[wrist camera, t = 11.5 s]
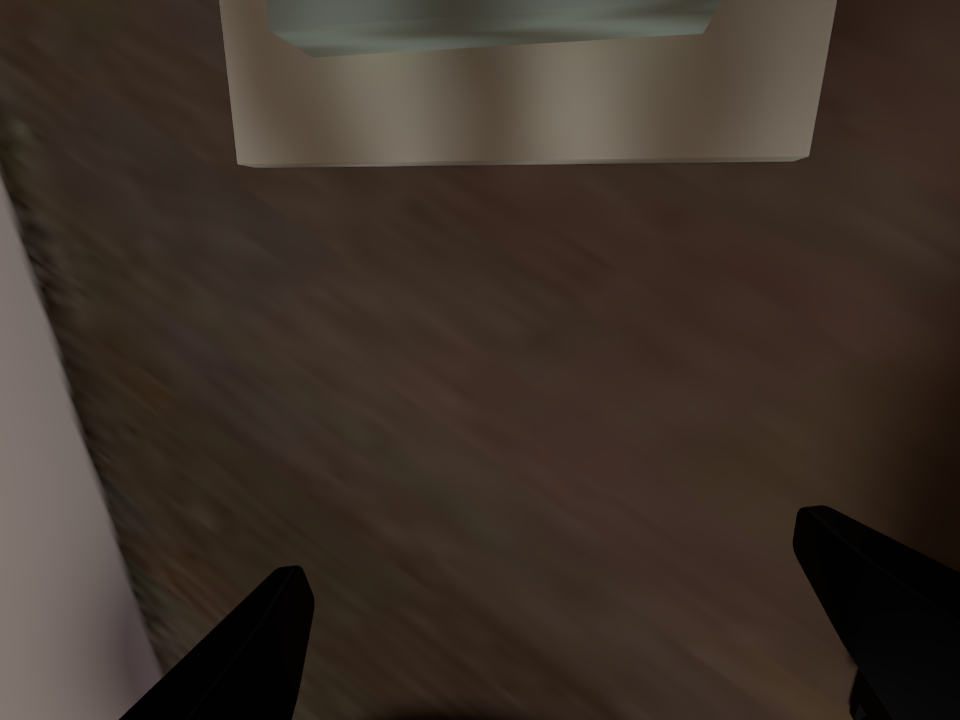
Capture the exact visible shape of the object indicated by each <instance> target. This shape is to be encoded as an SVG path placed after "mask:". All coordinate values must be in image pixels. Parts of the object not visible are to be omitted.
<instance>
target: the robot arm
mask: <svg viewBox="0 0 960 720" xmlns="http://www.w3.org/2000/svg"><path fill="white" fill-rule="evenodd" d="M793 549H794V553H795V555H796V557H797V559H798V561H799V563H800V565H801V567H802V569H803V571H804V573H805V574H806V576H807V578H808V580H809V582H810V584H811V586H812V587H813V589H814V591H815V593H816V595H817V597H818V599H819V601H820V602H821V604H822V606H823V608H824V610H825V612H826V614H827V615H828V617H829V619H830V621H831V623H832V625H833V627H834V628H835V630H836V632H837V634H838V636H839V637H840V639H841V641H842V643H843V644H844V646H845V647H846V649H847V651H848V652H849V654H850V655H851V657H852V658H853V660H854V662H855V663H856V665H857V666H858V668H859V670H858V674H857V677H856V681H855V685H854V688H853V693H854V696H853V700H852V703H851V707H850V715H851V716H852V718H853V720H960V573H959V572H957V571H955V570H953V569H951V568H949V567H947V566H945V565H943V564H941V563H939V562H937V561H935V560H933V559H931V558H929V557H927V556H925V555H924V554H922V553H920V552H918V551H916V550H914V549H912V548H910V547H908V546H906V545H904V544H902V543H900V542H898V541H896V540H894V539H892V538H890V537H888V536H886V535H884V534H882V533H880V532H878V531H876V530H874V529H872V528H870V527H868V526H866V525H864V524H862V523H860V522H858V521H856V520H854V519H852V518H850V517H848V516H846V515H844V514H842V513H840V512H838V511H836V510H834V509H832V508H830V507H828V506H823V505H819V506H810V507H803V508H800V509H799V511H798V512H797V517H796V523H795V530H794V537H793ZM313 613H314V596H313V593H312V590H311V588H310V585H309V583H308V580H307V578H306V575H305V573H304V571H303V569H302V568H301V567H300V566H297V565H294V566H286V567H280V568H277V569H276V570H274V571H273V572H272V573H271V574H270V575H269V576H268V577H267V578H266V579H265V580H264V581H263V582H262V583H261V584H260V585H259V586H258V587H257V588H256V589H254V590H253V591H252V592H251V593H250V594H249V595H248V596H247V597H246V598H245V599H244V600H243V601H242V602H241V603H240V604H239V605H238V606H237V607H236V608H235V609H234V610H233V611H232V612H230V613H229V614H228V615H227V616H226V617H225V618H224V619H223V620H222V621H221V622H220V623H219V624H218V625H217V626H216V627H215V628H214V629H213V630H212V631H211V632H210V633H209V634H208V635H206V636H205V637H204V638H203V639H202V640H201V641H200V642H199V643H198V644H197V645H196V646H195V647H194V648H193V649H192V650H191V651H190V652H189V653H188V654H187V655H186V656H185V657H184V658H182V659H181V660H180V661H179V662H178V663H177V664H176V665H175V666H174V667H173V668H172V669H171V670H170V671H169V672H168V673H167V674H166V675H165V676H164V677H163V678H162V679H161V680H160V681H159V682H157V683H156V684H155V685H154V686H153V687H152V688H151V689H150V690H149V691H148V692H147V693H146V694H145V695H144V696H143V697H142V698H141V699H140V700H139V701H138V702H137V703H135V705H133V706H132V708H130V709H129V710H128V711H127V712H126V713H125V714H124V715H123V716H122V717H121V718H120V719H119V720H292V716H293V713H294V709H295V705H296V701H297V697H298V693H299V688H300V683H301V678H302V672H303V667H304V662H305V656H306V651H307V645H308V640H309V635H310V629H311V624H312V618H313Z"/></svg>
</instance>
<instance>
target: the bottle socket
mask: <svg viewBox="0 0 960 720" xmlns="http://www.w3.org/2000/svg"><path fill="white" fill-rule="evenodd" d="M219 3H220V12H221V21H222V29H223V38H224V47H225V56H226V65H227V74H228V83H229V92H230V101H231V110H232V119H233V128H234V137H235V145H236V154H237V163H238V164H240V165H245V166H250V167H256V168H285V167H367V166H449V165H531V164H613V163H696V162H778V161H796V160H799V159H802V158H805V157H808V156H809V153H810V147H811V142H812V136H813V131H814V125H815V120H816V114H817V109H818V103H819V97H820V92H821V86H822V81H823V75H824V70H825V64H826V59H827V53H828V48H829V42H830V36H831V31H832V25H833V20H834V14H835V9H836V3H837V0H219Z"/></svg>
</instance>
